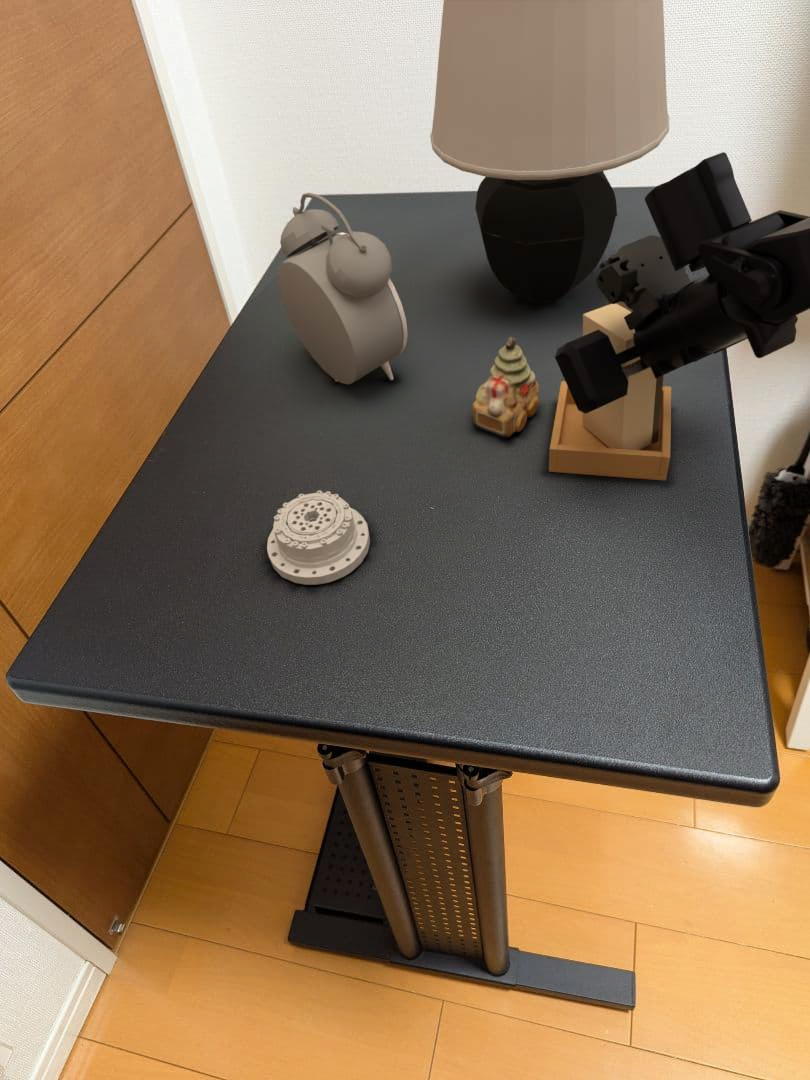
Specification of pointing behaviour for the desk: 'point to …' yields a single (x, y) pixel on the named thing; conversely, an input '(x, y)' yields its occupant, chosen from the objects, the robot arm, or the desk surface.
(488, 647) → the desk surface
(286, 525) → the mechanical component
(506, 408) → the ornament
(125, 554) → the desk surface
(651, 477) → the mount frame
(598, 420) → the back pad
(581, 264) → the table lamp
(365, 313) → the alarm clock
